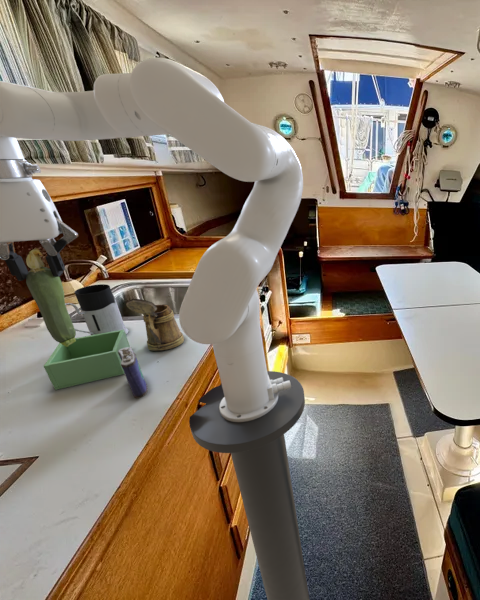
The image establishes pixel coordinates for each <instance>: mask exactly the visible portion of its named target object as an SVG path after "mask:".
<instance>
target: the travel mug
mask: <svg viewBox="0 0 480 600" xmlns="http://www.w3.org/2000/svg"><path fill="white" fill-rule="evenodd" d="M74 295H75V297H76V299H77V302H78V305H79V307H80V310H79V308H78V306H77V305H76V304H74V303H72V302H67V303H66V302H65V305H66V306H67V305H70V306H72V307H73V308H74V310H75V312H76V313H77V314H78V315H82V316H83V319H84V322H85V324H86V327H87V329H88V331H86V330H81V329H77V328H74V329H75V331H76V332H80V333H85V334H90V335H96V334H101V333H107V332H113V331H118V330H124V331H125V334H126V335H127V334H128V333H129V329H128V328H127V327H126V325H125V323H124V320H123V317H122V314H121V312H120V309H119V306H118V303H117V300H116V298H115V295H114V294H113V292H112V289H111V286H110V285H109V284H105V283H103V284H92V285H87V286H83V287H80V288H78V289H75V290H74Z"/></svg>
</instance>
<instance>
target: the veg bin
mask: <svg viewBox="0 0 480 600" xmlns="http://www.w3.org/2000/svg"><path fill="white" fill-rule="evenodd" d="M75 340H76V342H74V343H72V344H71V345H68V347H66V346H64V345H62V344H61V343H59V342H58V344H57V346H56V348H55V349H54V350H53V352H52V353H51V355H50V356H49V357H48V359H47V360H46V362H45V363H44V365H43V368H44V370H45V373H46V375H47V377H48V379H49V380H50V382H51V385H52V386H53V388H54V390H55V391H57V390H61V389H65V388H69V387H73V386H78V385H82V384H87V383H91V382H96V381H100V380H105V379H109V378H114V377H117V376H121V375H125V373H124V370H123V368H122V366H121V362H122V361H121V358H120V356H119V354H118V350H120V349H122V348H125V347H131V345H130V342H129V338H128V336H127V334H125V331H124V330H118V331H113V332H107V333H101V334H96V335H91V334H90V335H85V336H80V337H79V336H78V337H75Z"/></svg>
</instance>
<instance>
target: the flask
mask: <svg viewBox="0 0 480 600" xmlns="http://www.w3.org/2000/svg"><path fill="white" fill-rule="evenodd" d="M118 354H119V356H120V358H121V361H122V362H121V366H122V368H123V370H124V375H125V377H126V382H127V383H128V385H129V387H130V390H131V392H132V395H133V398H136V399H139V398H142V397H144V396H146V395H147V393H148V384H147V382H146V380H145V378H144V374H143V372H142V369H141V367H140V364H139V361H138V358H137V355H136V353H135V351H134V350H133V349H132V346H130V347H125V348H122V349H120V350H118Z"/></svg>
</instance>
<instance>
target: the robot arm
mask: <svg viewBox="0 0 480 600" xmlns="http://www.w3.org/2000/svg"><path fill="white" fill-rule="evenodd" d="M165 135H166V136H167V135H170V136H171V137H172V138H174V140H177V141H178V142H179V143H181V144H182V145H183V146H185V147H186V148H187V149H189V150H190V151H192V152H193V153H195V154H196V155H198V156H199V157H200V158H202V159H203V160H204V161H206V162H207V163H209V164H210V165H211V166H213V167H215V168H216V169H217V170H219V172H222V173H223V174H224V175H226V176H228V177H230V178H232V179H235V180H238V181H241V182H245V183H246V182H247V183H253V182H254V184H253V187H252V189H251V191H250V193H249V195H248V196H247V198H246V200H245V202H244V204H243V206H242V209H241V211H240V214H239V216H238V218H237V221H236V222H235V224H234V226H233V228H232V229H231V231H230V232H229V233H228V234H227V235H226V236H225V237H223V238H221V239H219V240H218V241H216V242H214V243H213V244H211V246H209V247H208V248H207V249H206V251H204V253H203V255H202V256H201V257H200V259H199V261H198V263H197V265H196V268H195V270H194V272H193V275H192V277H191V280H190V282H189V285H188V287H187V289H186V292H185V294H184V296H183V298H182V299H183V300H182V301H181V305H180V308H179V311H178V320H179V321H178V322H179V325H180V328H181V330H182V332H183V333H184V334H185V335H186V336H187V338H189V339H190V340H191V341H193V342H195V343H198V344H202V345H212V349H213V353H214V358H215V362H216V366H217V371H218V375H219V379H220V383H221V384H220V385H222V388H223V392H224V396H225V397H224V398H223V399H222V400H221V402H220V406H219V409H220V413H221V416H222V417H223V418H225V419H226V420H229V421H232V422H246V421H251V420H254V419H257V418H259V417H261V416H263V415H265V414H266V413H268V412H269V411H270V410H271V409H273V408H274V406H275V405H276V403H277V401H278V391H282V390H286V389H289V388H291V383H290V381H285V382H283V378H282V377H281V378H278V379H275V380H270V379H269V376H268V373H267V371H268V367H267V363H266V356H265V350H264V349H265V348H264V343H263V341H264V340H263V335H262V329H261V318H260V317H261V313H260V311H261V310H260V296H259V293H258V287H259V285H260V283H261V282H262V281H263V280H264V279H265V278H266V276H268V274H269V273H270V271H271V270H272V269H273V266H274V263H275V261H276V259H277V256H278V253H279V251H280V249H281V247H282V245H283V243H284V240H285V239H286V237H287V234H288V233H289V230H290V228H291V225H292V223H293V222H294V219H295V217H296V214H297V212H298V211H299V207H300V204H301V201H302V197H303V191H304V175H303V170H302V166H301V163H300V160H299V158H298V157H297V154H296V152H295V150H294V149H293V147H292V146H291V145H290V143H289V142H288V141H287V140H286V139H285V138H284V137H283V136H282V135H281V134H280V133H278V132H277V131H276V130H274V129H273V128H270V127H268V126H265V125H262V124H258V123H255V122H251V121H250V120H248V119H247V118H246V117H245V116H243V115H241V114H240V113H239V112H238V111H237V110H235V109H234V108H233V107H231V106H230V105H228V104H227V103H226V102H225V100H224V97H223V95H222V93H221V92H220V90H219V88H218V87H217V86H216V85H215V84H214V82H212V81H211V79H209V78H207V77H206V76H205V75H204V74H201V73H200V72H198V71H196V70H193V69H192V68H190V67H187V66H185V65H184V64H182V63H180V62H178V61H175V60H173V59H169V58H165V57H156V56H155V57H150V58H146V59H144V60H141V61H140V62H138V63H137V64H136V65H135V67H134V68H133V69H132V72H124V73H122V72H121V73H103V74H101V75H99V76H97V77H96V78H95V80H94V82H93V90H87V91H85V90H83V91H52V90H47V89H43V88H38V87H34V86H29V85H25V84H18V83H13V82H9V81H4V80H0V260H3V261H4V262H5V264H6V266H7V268H8V270H9V273H10V274H11V276H12V277H16V279H17V281H18V282H23V281H26V277H27V274H28V272H29V270H28V268H27V266H26V264H25V262H24V259H23V257H22V256H21V255H20V254H17V252H16V250H15V249H16V248H15V244H14V242H27V241H28V242H29V241H39V243H40V244H41V246H42V248H43V249H44V250H45V251H46V256H45V260H46V262H47V263H46V264H47V265H48V268H49V269H50V270H51V272H52V275H53V276H55V277H61V276H62V275H63V273H64V271H65V270H66V266H65V263H64V261H63V258H62V256H61V254H60V253H61V251H62V250H63V249H64V248H65V247H66V246H67V245H68V244H70V243H71V242H73V241H74V240H76V239H77V238H78V237H79V233H78V232H77V231H75V230H74V229H72V228H71V227H70V226H69V225H67V224H66V223H64V222H63V220H62V218H61V216H60V214H59V212H58V209H57V207H56V205H55V203H54V201H53V199H52V198H51V195H50V194H49V192H48V191H47V189H46V187H45V186H44V184H43V183H42V181H41V179H33V175H35V174H41V173H42V170H41V167H40V165H39V164H32V163H29V162H28V160H27V159H25V157H24V154H23V151H22V148H21V147H20V144H19V142H18V139H22V140H23V139H26V140H47V141H60V142H61V141H62V142H77V141H78V142H80V141H82V142H83V141H99V140H111V139H112V140H113V139H114V140H115V139H121V138H124V139H129V138H138V137H153V136H165ZM61 234H63V236H62V237H61V238H59V239H58V240H57V241H56V239H55V238H57V237H58V236H59V235H61Z"/></svg>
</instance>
